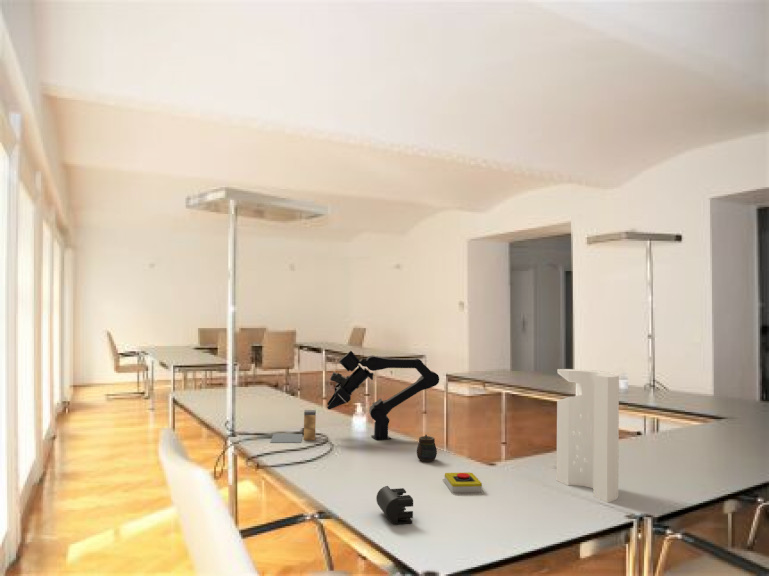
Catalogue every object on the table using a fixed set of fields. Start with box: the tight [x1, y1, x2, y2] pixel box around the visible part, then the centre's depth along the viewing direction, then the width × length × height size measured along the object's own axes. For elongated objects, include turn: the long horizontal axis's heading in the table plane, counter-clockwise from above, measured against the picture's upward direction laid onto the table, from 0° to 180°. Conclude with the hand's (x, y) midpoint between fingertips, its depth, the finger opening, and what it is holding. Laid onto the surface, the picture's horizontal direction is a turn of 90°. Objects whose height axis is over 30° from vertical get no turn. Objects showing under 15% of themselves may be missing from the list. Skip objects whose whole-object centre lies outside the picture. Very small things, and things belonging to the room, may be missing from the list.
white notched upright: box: [555, 368, 620, 503], centre depth 169 cm, size 35×11×21 cm
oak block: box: [303, 409, 317, 441], centre depth 226 cm, size 4×4×11 cm
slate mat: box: [269, 433, 304, 444], centre depth 225 cm, size 12×14×1 cm
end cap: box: [375, 485, 414, 526], centre depth 142 cm, size 10×7×7 cm
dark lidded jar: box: [416, 434, 438, 463], centre depth 197 cm, size 7×8×10 cm
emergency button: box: [442, 472, 484, 496], centre depth 168 cm, size 9×4×15 cm
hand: (328, 406), depth 227 cm, fingers open, 9 cm apart
